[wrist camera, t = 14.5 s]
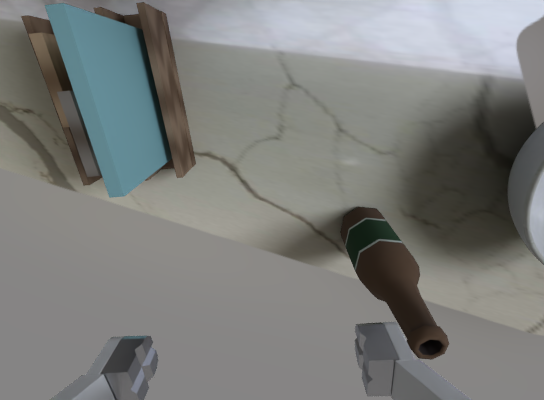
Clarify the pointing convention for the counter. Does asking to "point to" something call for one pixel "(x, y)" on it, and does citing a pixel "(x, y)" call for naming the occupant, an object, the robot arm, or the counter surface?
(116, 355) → the robot arm
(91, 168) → the offcut
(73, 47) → the tall sheet
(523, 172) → the decorative bowl
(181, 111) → the rack
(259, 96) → the counter surface
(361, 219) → the beer bottle
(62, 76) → the offcut
